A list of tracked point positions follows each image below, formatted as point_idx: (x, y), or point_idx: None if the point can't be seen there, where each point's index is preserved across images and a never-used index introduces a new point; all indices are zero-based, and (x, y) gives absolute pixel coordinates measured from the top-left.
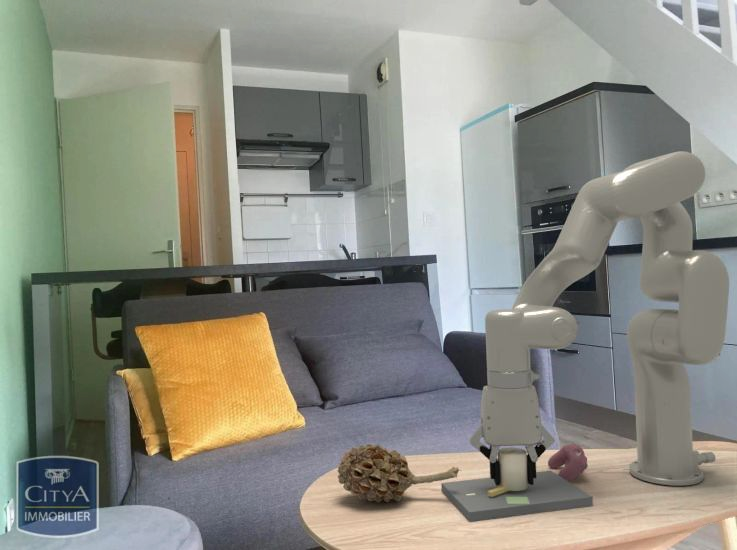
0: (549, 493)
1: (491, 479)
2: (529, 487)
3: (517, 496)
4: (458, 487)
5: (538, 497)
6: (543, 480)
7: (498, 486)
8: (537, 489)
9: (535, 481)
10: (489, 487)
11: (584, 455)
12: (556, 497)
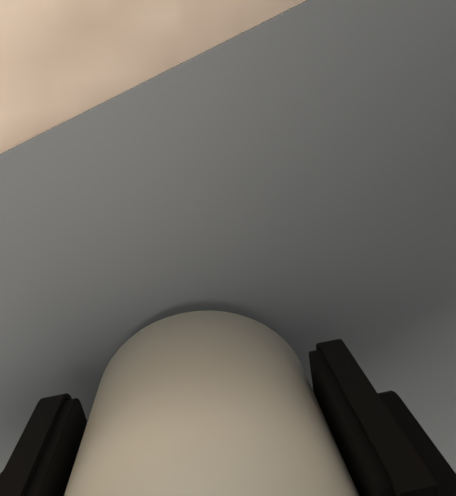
0: (424, 410)
1: (12, 208)
2: (313, 334)
3: None
4: None
5: None
6: (436, 174)
7: (93, 349)
8: (362, 359)
9: (371, 209)
10: (29, 377)
11: None
12: (450, 458)
